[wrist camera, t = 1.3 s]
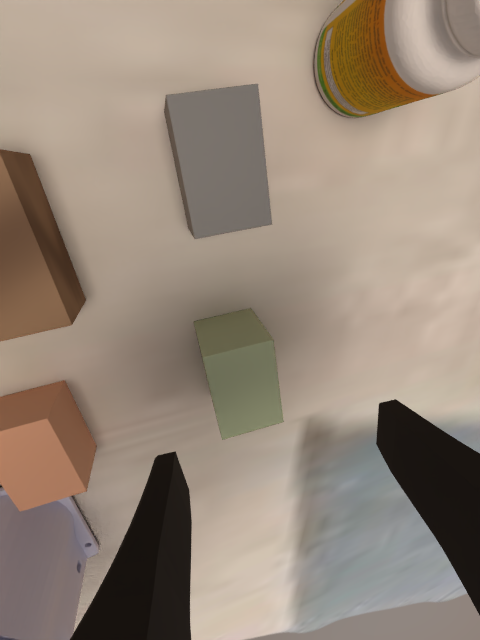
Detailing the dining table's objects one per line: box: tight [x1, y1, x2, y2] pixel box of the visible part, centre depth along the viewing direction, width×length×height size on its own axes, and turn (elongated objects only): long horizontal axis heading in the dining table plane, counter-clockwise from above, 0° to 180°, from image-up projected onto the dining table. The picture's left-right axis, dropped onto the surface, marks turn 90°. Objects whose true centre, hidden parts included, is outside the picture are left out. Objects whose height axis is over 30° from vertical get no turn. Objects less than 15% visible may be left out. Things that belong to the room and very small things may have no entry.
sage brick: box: [194, 308, 284, 440], centre depth 22 cm, size 6×4×5 cm, turn 9°
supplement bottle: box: [314, 0, 480, 118], centre depth 14 cm, size 5×5×10 cm
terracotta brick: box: [0, 380, 97, 512], centre depth 21 cm, size 6×4×4 cm, turn 9°
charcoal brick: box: [164, 84, 272, 239], centre depth 17 cm, size 6×4×4 cm, turn 8°
